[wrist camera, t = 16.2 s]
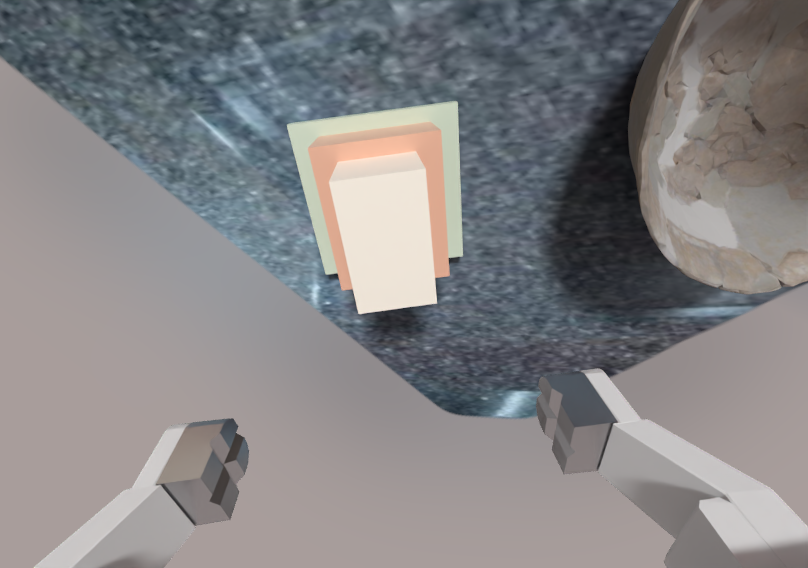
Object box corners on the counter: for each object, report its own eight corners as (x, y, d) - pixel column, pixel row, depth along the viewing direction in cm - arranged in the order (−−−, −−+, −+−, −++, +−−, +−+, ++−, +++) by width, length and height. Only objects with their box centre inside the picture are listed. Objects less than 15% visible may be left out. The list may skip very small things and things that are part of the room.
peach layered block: (290, 123, 26) (269, 134, 20) (454, 101, 26) (474, 106, 20) (327, 268, 32) (318, 305, 27) (460, 250, 32) (476, 283, 27)
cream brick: (337, 161, 21) (328, 181, 17) (415, 151, 21) (425, 168, 17) (361, 275, 26) (358, 314, 21) (426, 266, 26) (437, 303, 21)
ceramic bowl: (735, -225, 19) (1039, -480, 10) (931, 25, 25) (1216, -2, 17) (497, 161, 28) (551, 198, 19) (686, 271, 35) (789, 334, 26)
